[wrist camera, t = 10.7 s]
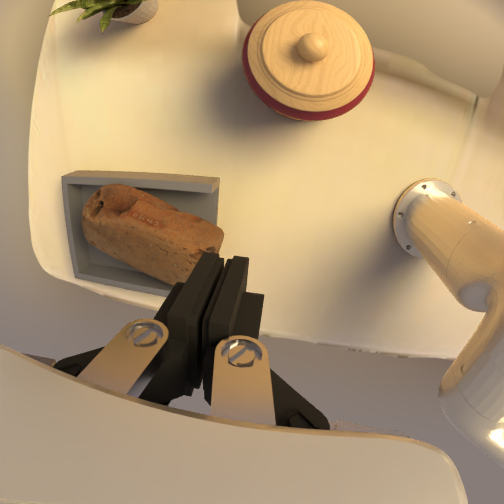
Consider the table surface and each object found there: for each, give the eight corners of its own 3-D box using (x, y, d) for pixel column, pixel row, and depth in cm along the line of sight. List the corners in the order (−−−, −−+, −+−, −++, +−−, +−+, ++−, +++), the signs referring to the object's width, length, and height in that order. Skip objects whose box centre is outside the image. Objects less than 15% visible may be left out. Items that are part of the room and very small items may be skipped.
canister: (279, 18, 31) (272, -41, 15) (366, 60, 32) (415, 27, 16) (238, 95, 37) (203, 80, 21) (325, 137, 38) (352, 150, 22)
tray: (219, 177, 42) (212, 184, 38) (214, 288, 50) (207, 303, 46) (77, 170, 44) (61, 176, 40) (87, 266, 51) (75, 277, 47)
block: (198, 301, 44) (82, 247, 41) (214, 261, 48) (106, 213, 46) (215, 265, 35) (73, 201, 33) (233, 220, 40) (103, 166, 37)
